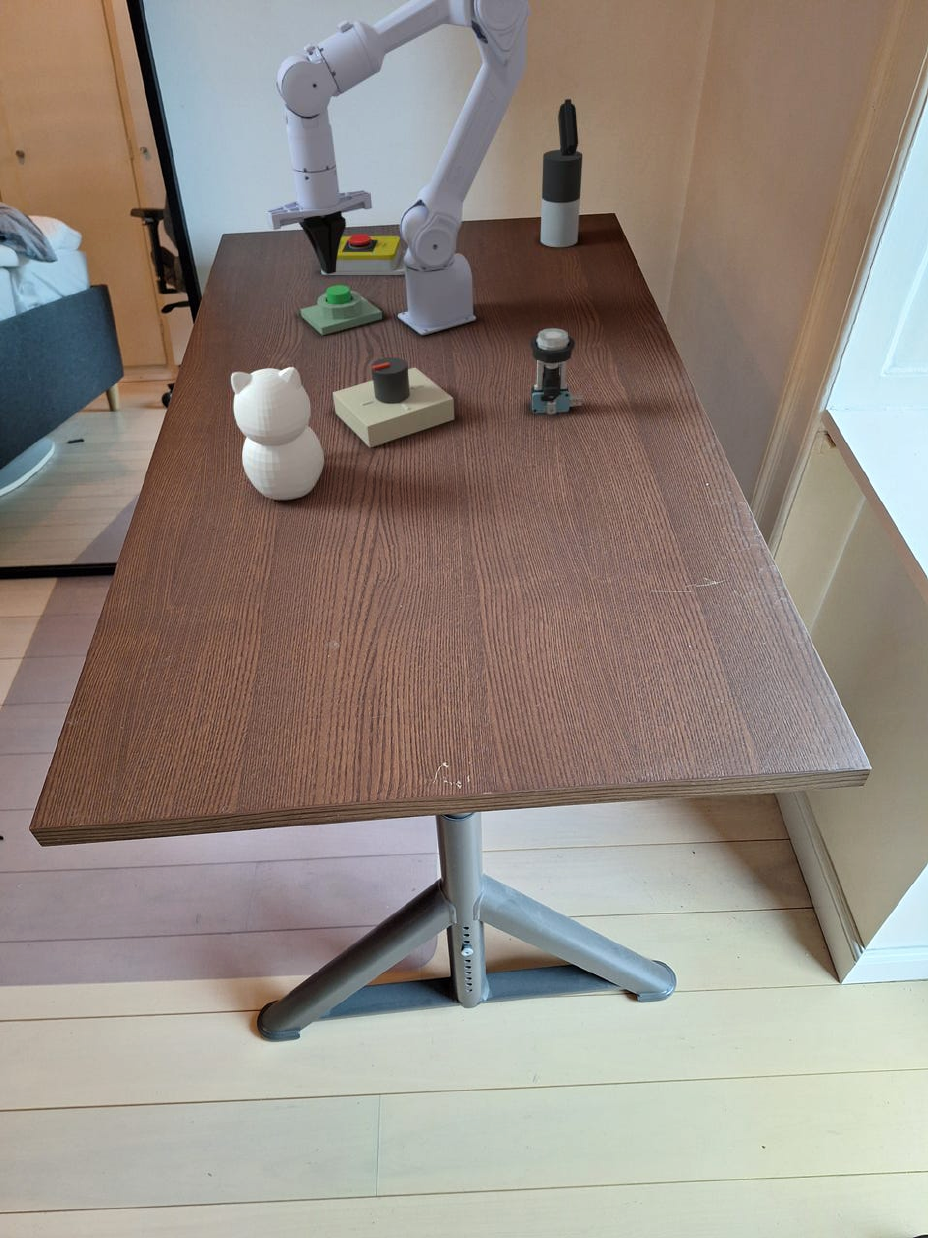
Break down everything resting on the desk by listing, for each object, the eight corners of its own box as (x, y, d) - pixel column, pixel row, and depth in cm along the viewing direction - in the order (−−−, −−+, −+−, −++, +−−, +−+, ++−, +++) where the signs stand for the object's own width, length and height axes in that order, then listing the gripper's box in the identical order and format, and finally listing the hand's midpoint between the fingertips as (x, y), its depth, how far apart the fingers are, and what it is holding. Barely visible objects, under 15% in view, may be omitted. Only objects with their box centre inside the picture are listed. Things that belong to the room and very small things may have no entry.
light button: (345, 294, 131) (343, 283, 130) (355, 302, 129) (354, 290, 127) (323, 300, 130) (322, 288, 128) (333, 308, 127) (332, 296, 126)
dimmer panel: (416, 387, 114) (415, 365, 112) (454, 419, 108) (453, 396, 106) (335, 413, 110) (332, 391, 108) (369, 448, 103) (367, 425, 101)
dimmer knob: (401, 383, 109) (398, 351, 106) (415, 398, 106) (412, 365, 103) (369, 391, 107) (365, 359, 105) (382, 406, 105) (379, 374, 102)
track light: (540, 259, 154) (555, 202, 134) (533, 167, 154) (547, 97, 134) (576, 257, 154) (596, 200, 134) (569, 165, 155) (588, 94, 135)
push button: (578, 397, 111) (583, 323, 104) (583, 418, 107) (589, 343, 100) (527, 399, 111) (528, 325, 104) (530, 420, 107) (532, 345, 100)
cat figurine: (247, 515, 94) (216, 392, 84) (252, 455, 103) (225, 337, 93) (328, 507, 95) (307, 384, 84) (326, 447, 104) (307, 330, 93)
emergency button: (327, 228, 147) (413, 227, 146) (330, 254, 150) (414, 253, 149) (316, 248, 141) (406, 247, 139) (320, 274, 144) (408, 274, 142)
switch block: (359, 301, 135) (357, 282, 133) (382, 318, 130) (380, 299, 128) (301, 316, 132) (298, 297, 130) (322, 335, 127) (319, 315, 125)
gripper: (351, 149, 116) (362, 251, 125) (250, 168, 111) (270, 273, 120) (374, 161, 112) (384, 266, 121) (270, 182, 106) (289, 290, 116)
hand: (328, 270), depth 120 cm, fingers closed
